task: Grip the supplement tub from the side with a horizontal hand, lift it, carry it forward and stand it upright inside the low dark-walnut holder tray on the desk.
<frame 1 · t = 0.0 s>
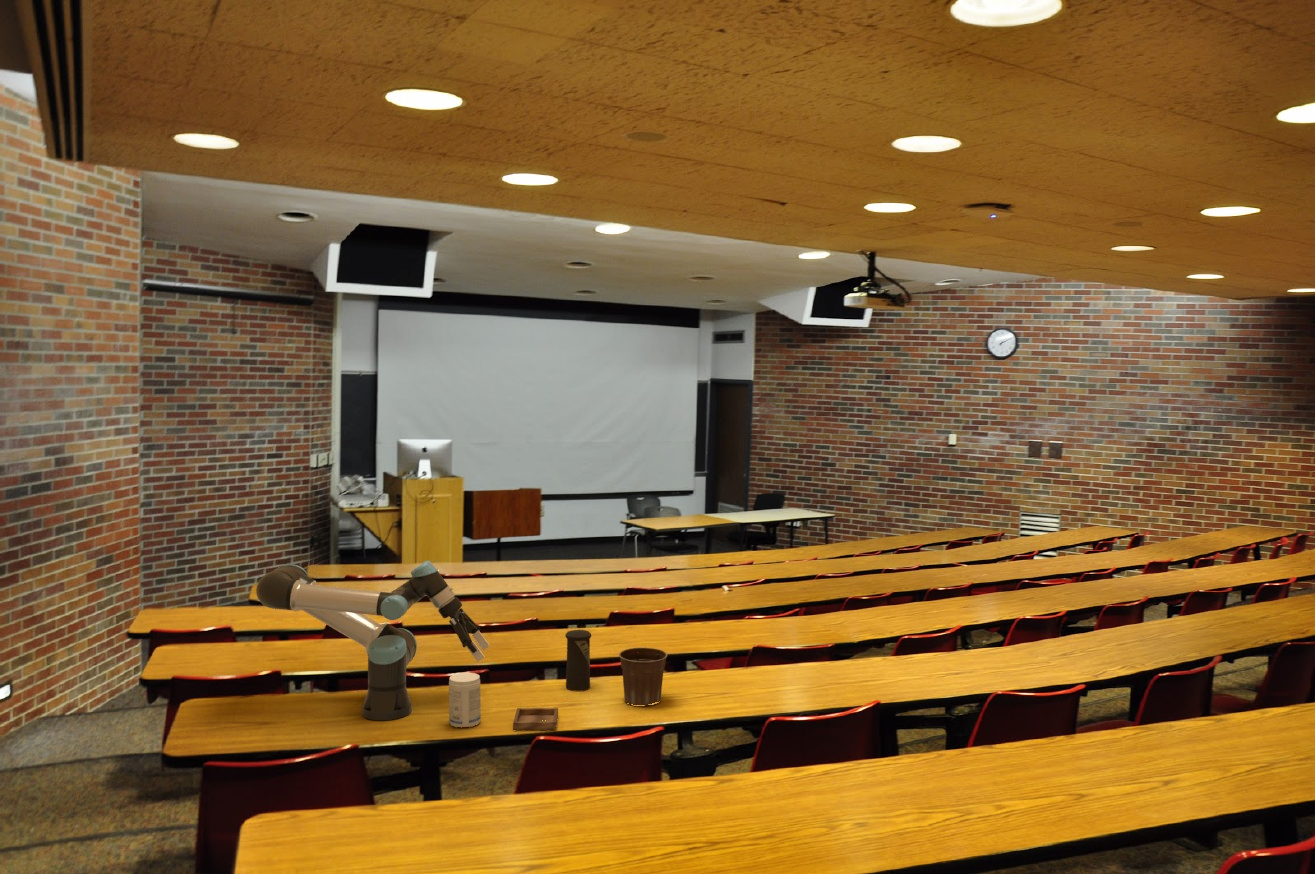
hand: (484, 653, 310), 15 cm above the table, tool tilted 35°, fingers open, 13 cm apart
supplement tub: (464, 724, 287), on the table
plant pot: (642, 702, 310), on the table
container: (577, 688, 324), on the table
holder tray: (536, 723, 288), on the table
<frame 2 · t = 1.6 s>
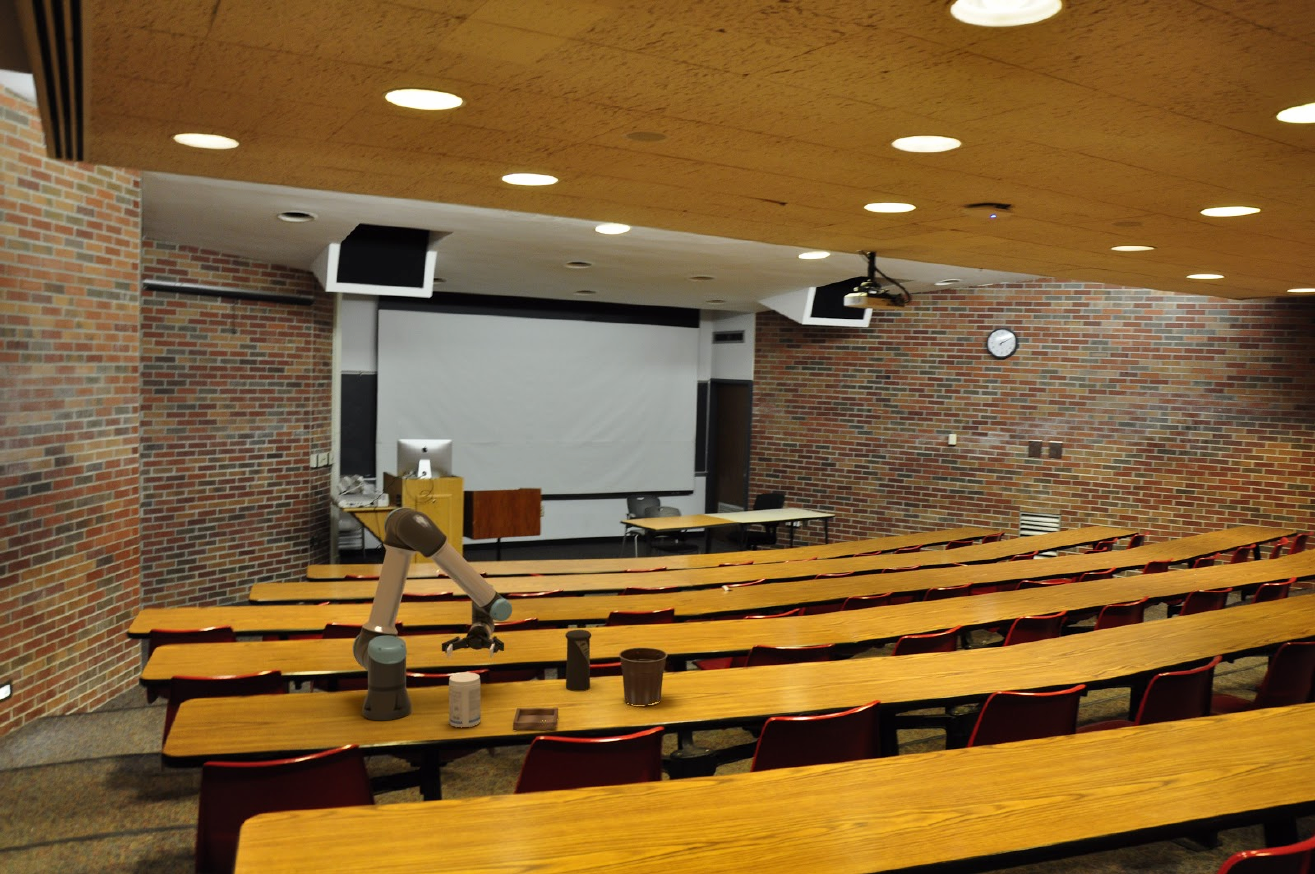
hand: (469, 653, 296), 19 cm above the table, tool horizontal, fingers open, 13 cm apart
nothing on the table moved.
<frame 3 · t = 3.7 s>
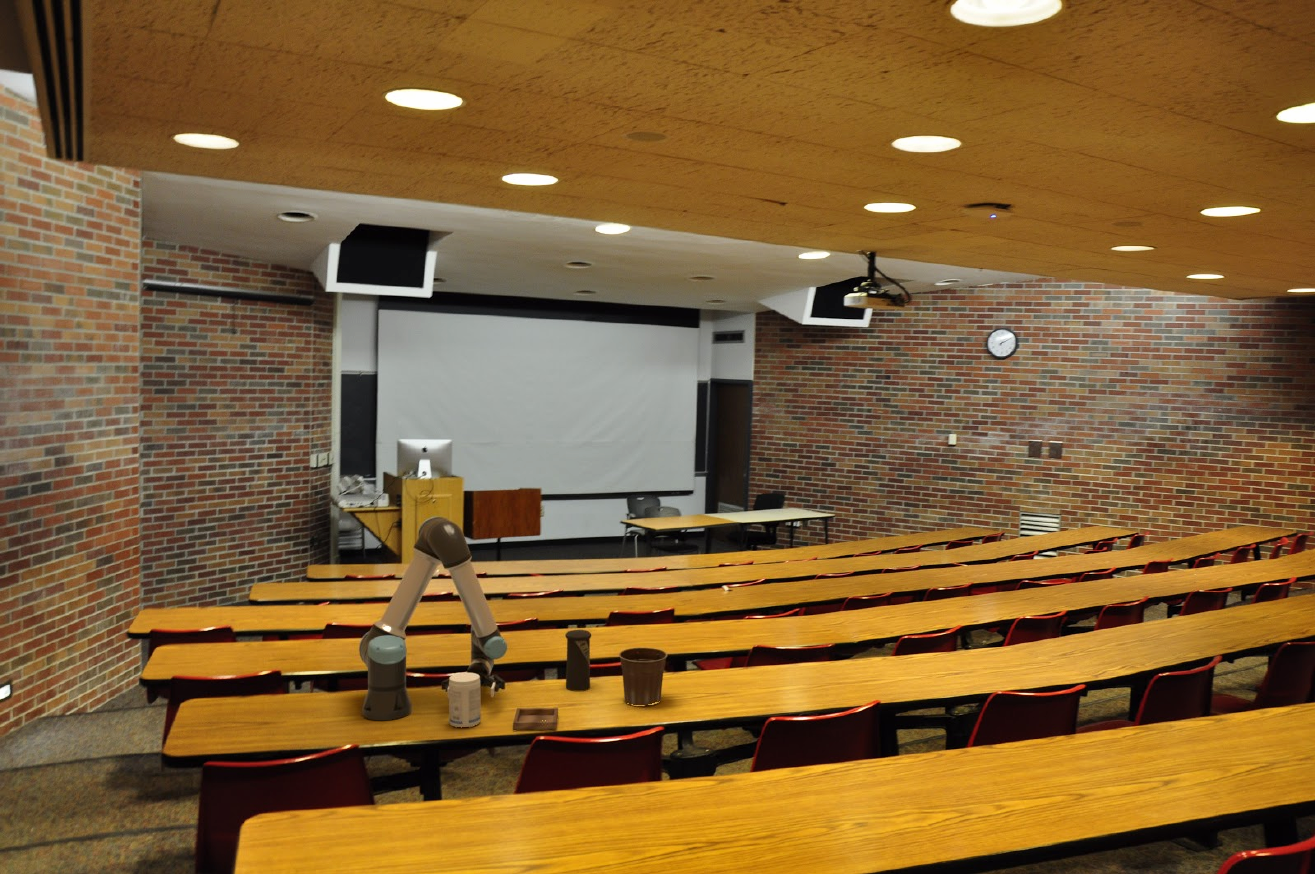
hand: (470, 693, 292), 8 cm above the table, tool horizontal, fingers open, 13 cm apart
nothing on the table moved.
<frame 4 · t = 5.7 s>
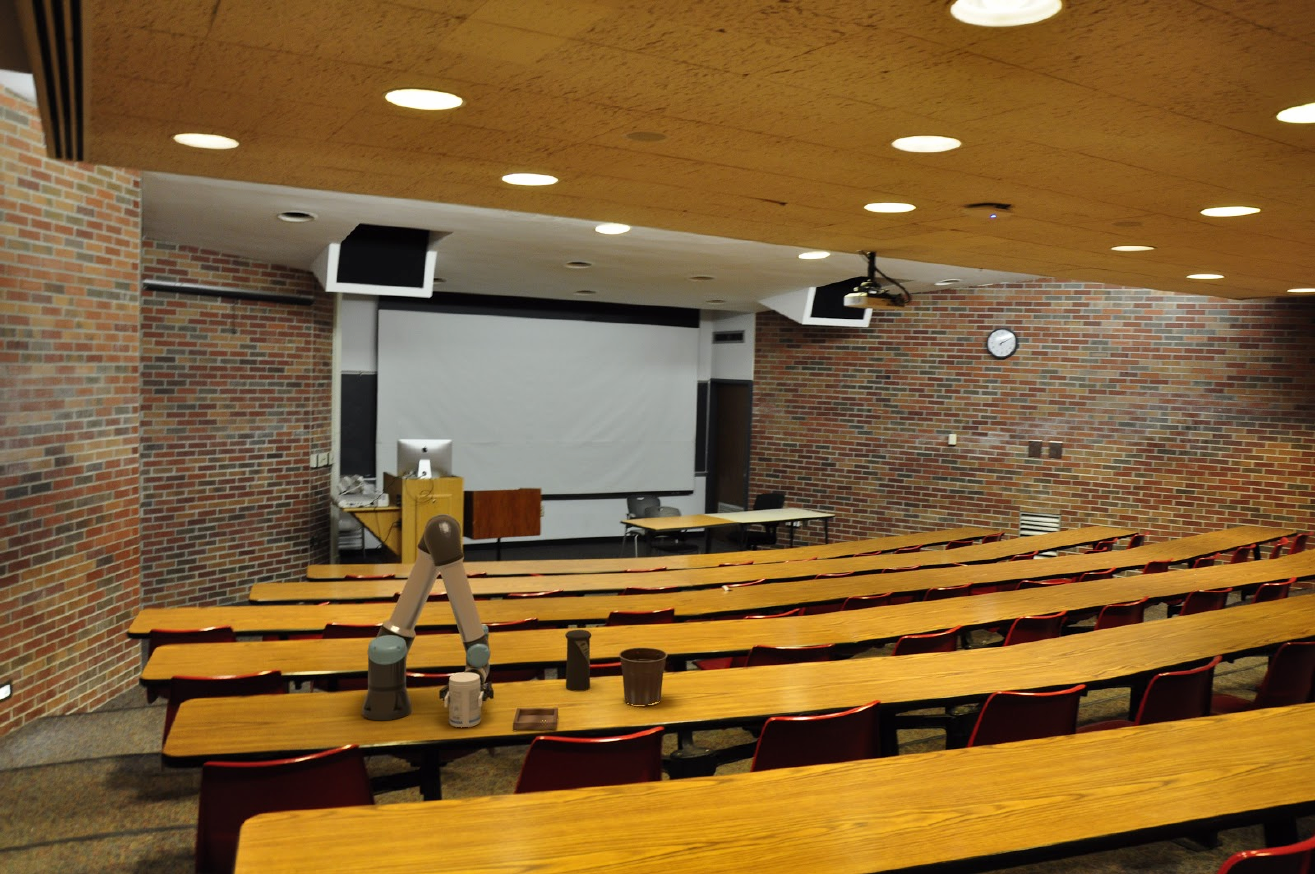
hand: (462, 702, 282), 8 cm above the table, tool horizontal, fingers closed on supplement tub, 9 cm apart
supplement tub: (464, 724, 287), on the table, touching gripper
everything else where it was.
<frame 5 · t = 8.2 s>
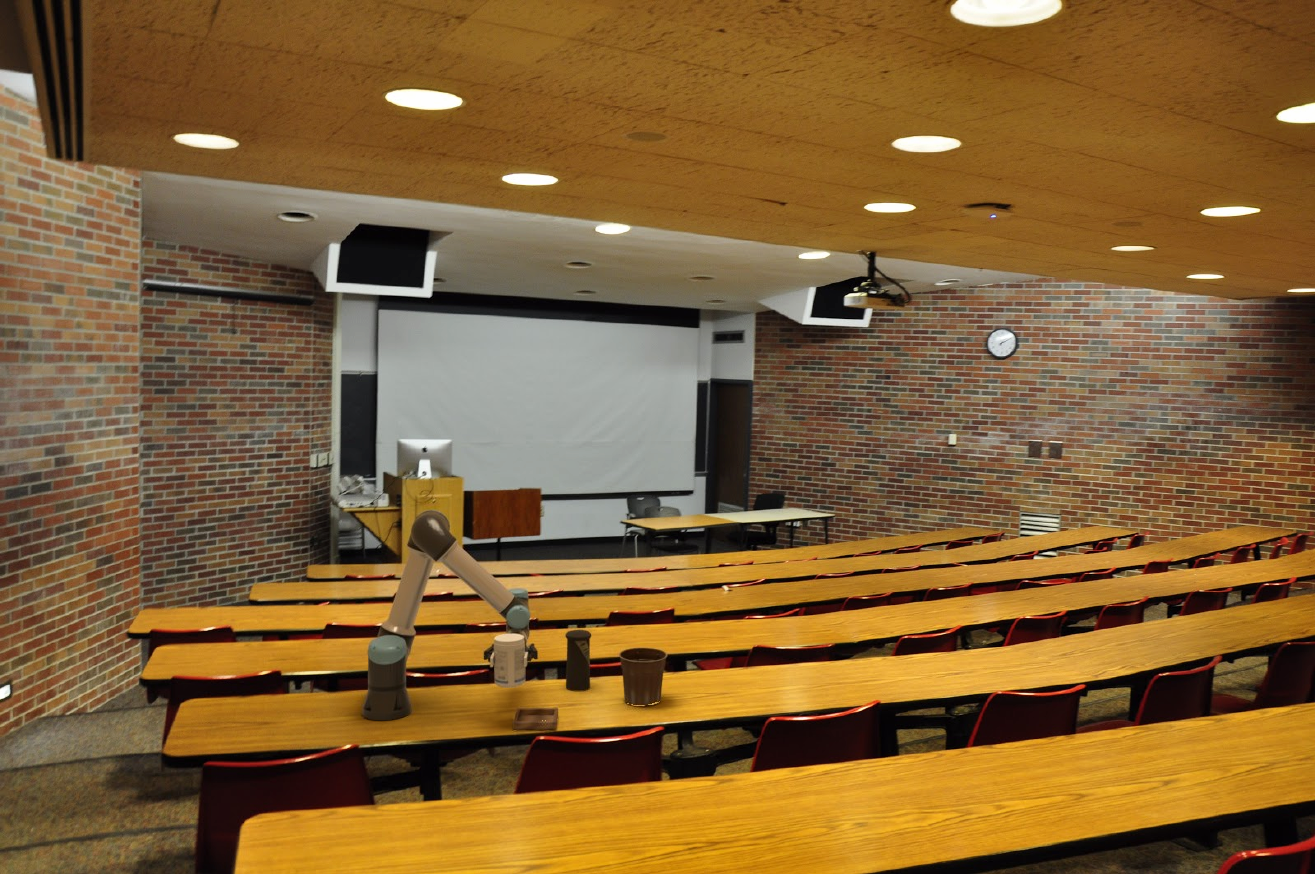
hand: (508, 662, 283), 20 cm above the table, tool horizontal, fingers closed on supplement tub, 9 cm apart
supplement tub: (509, 684, 288), point 12 cm above the table, touching gripper
everything else where it was.
when the fingers open (10 cm above the table, at t = 11.0 s): supplement tub drops 1 cm, resting on holder tray.
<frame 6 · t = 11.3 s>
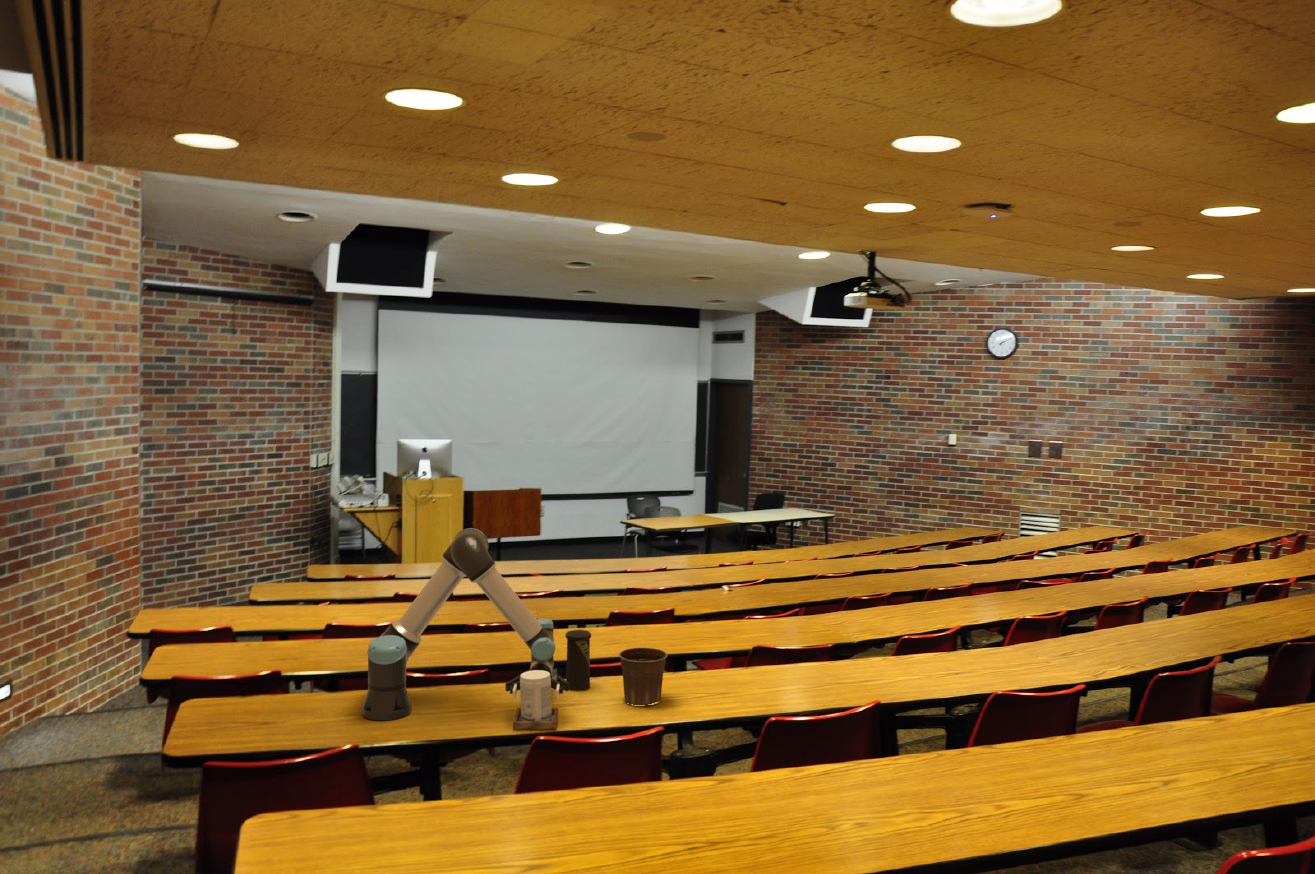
hand: (535, 695, 284), 10 cm above the table, tool horizontal, fingers open, 13 cm apart
supplement tub: (536, 721, 288), resting on holder tray
everything else where it was.
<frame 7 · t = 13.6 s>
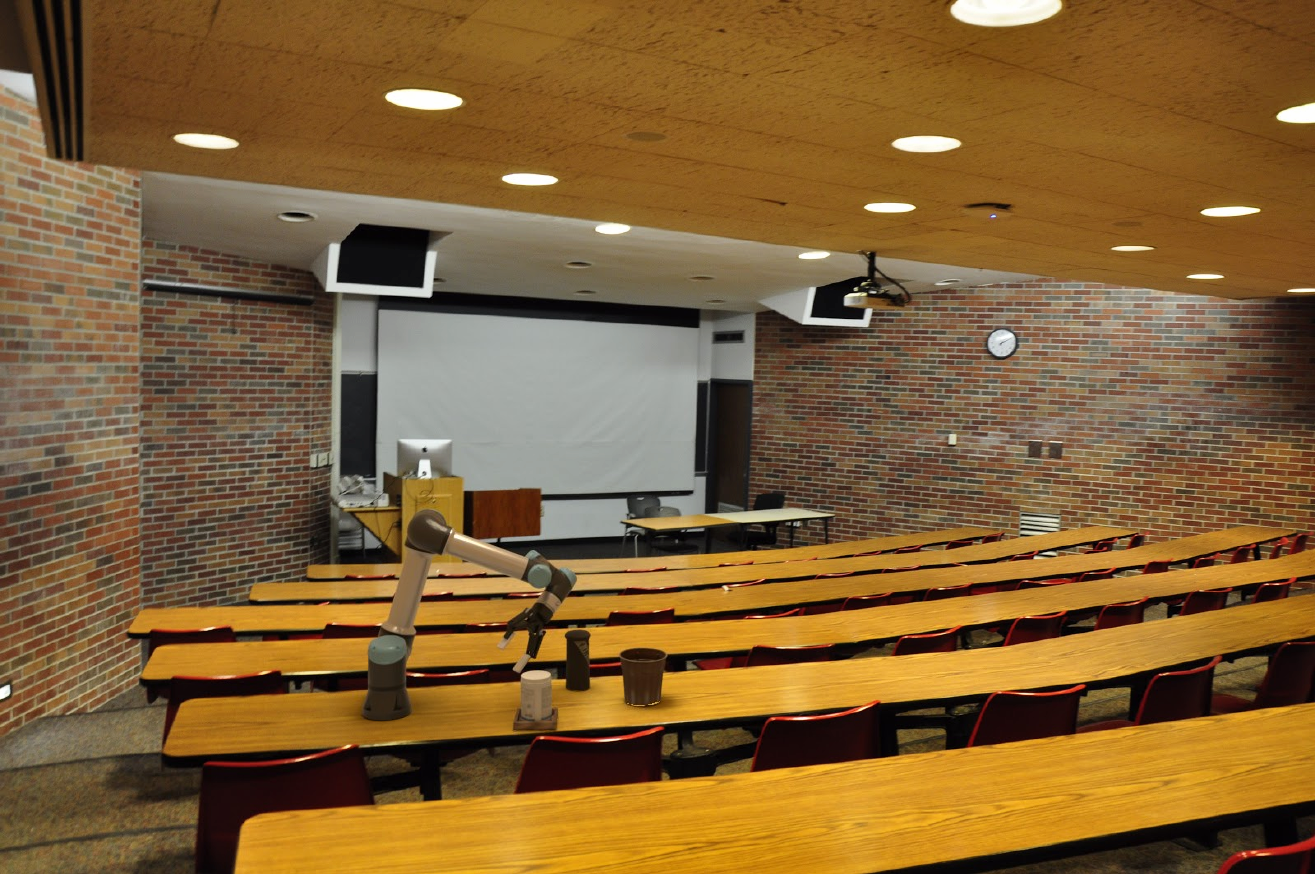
hand: (508, 660, 299), 16 cm above the table, tool tilted 50°, fingers open, 13 cm apart
nothing on the table moved.
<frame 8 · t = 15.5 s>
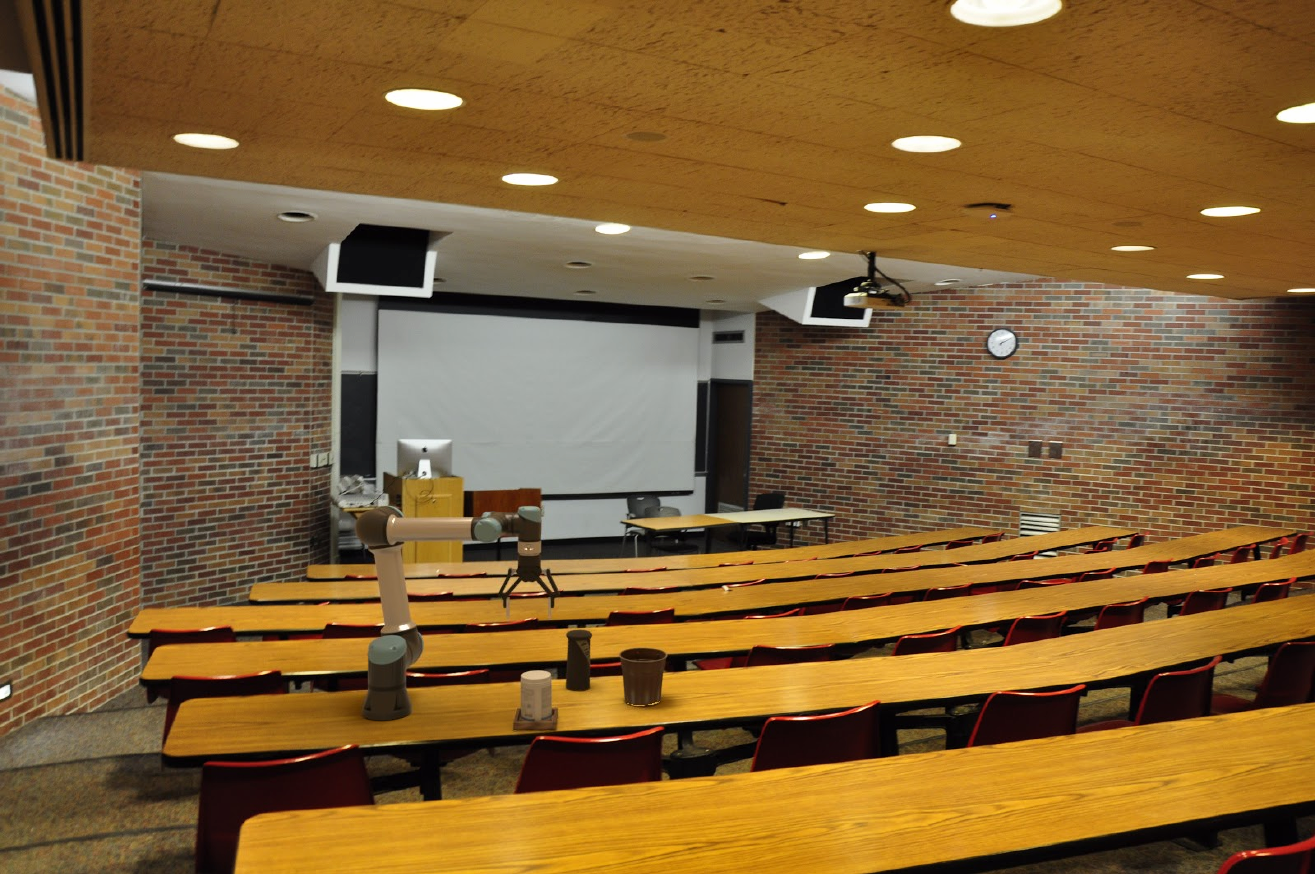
hand: (528, 618, 305), 29 cm above the table, tool pointing down, fingers open, 13 cm apart
nothing on the table moved.
at the end: supplement tub inside the target area on the holder tray (0.1 cm from its centre), point 0.4 cm above the holder tray's base; supplement tub tilted 0°; the gripper is holding nothing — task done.
